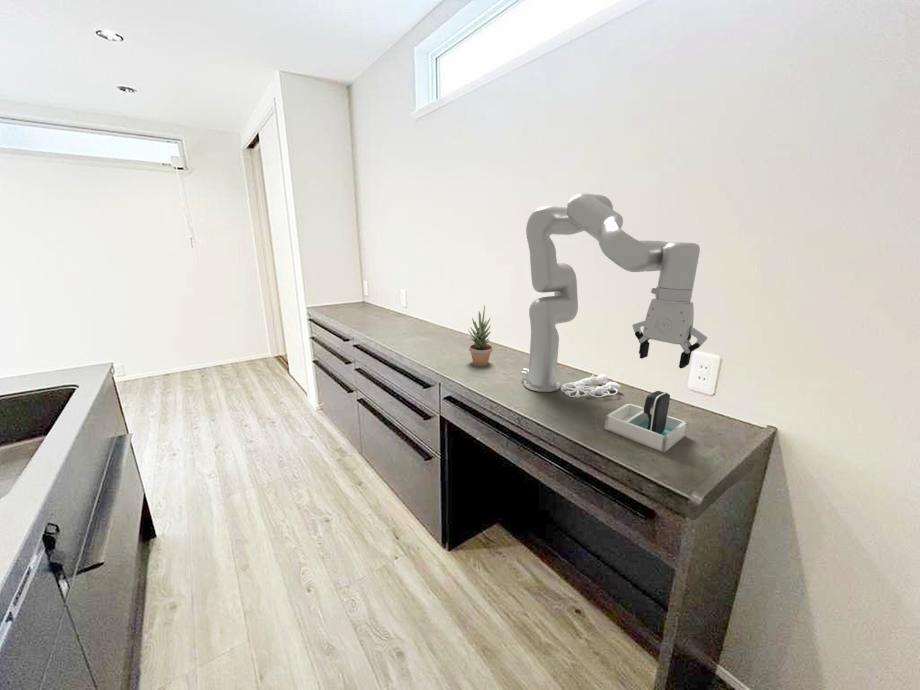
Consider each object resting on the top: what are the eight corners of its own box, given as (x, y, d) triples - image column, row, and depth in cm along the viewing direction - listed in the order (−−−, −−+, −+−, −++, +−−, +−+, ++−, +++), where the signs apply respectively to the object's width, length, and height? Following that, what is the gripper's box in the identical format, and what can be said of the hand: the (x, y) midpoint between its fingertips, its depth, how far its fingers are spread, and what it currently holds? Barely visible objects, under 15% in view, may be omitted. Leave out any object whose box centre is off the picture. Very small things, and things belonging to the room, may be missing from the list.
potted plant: (480, 368, 154) (482, 307, 147) (464, 363, 161) (465, 304, 154) (497, 363, 161) (499, 304, 154) (481, 358, 167) (482, 301, 161)
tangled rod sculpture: (574, 407, 123) (575, 395, 122) (553, 387, 136) (554, 376, 135) (626, 399, 128) (628, 388, 127) (601, 380, 141) (602, 370, 140)
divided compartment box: (604, 428, 106) (605, 415, 105) (626, 415, 115) (628, 402, 114) (664, 452, 95) (666, 438, 94) (684, 435, 103) (687, 422, 102)
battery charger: (651, 426, 107) (657, 387, 103) (665, 431, 104) (671, 392, 101) (638, 433, 102) (644, 393, 99) (652, 439, 100) (659, 398, 96)
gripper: (631, 292, 97) (622, 356, 102) (708, 301, 85) (693, 374, 89) (645, 289, 102) (635, 351, 107) (719, 298, 89) (705, 368, 94)
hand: (662, 362), depth 98 cm, fingers open, 9 cm apart
